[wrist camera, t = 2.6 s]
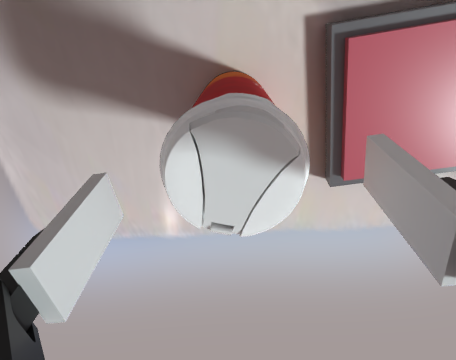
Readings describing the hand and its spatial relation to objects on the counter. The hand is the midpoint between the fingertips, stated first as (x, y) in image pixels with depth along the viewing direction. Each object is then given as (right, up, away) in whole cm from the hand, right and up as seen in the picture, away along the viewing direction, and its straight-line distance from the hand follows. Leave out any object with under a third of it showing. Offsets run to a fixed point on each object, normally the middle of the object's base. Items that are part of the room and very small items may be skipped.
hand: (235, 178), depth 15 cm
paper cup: (0, +7, +11) cm, 13 cm away
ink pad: (+15, +7, +11) cm, 20 cm away
